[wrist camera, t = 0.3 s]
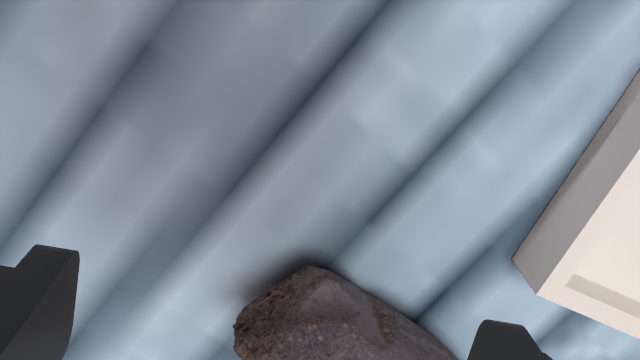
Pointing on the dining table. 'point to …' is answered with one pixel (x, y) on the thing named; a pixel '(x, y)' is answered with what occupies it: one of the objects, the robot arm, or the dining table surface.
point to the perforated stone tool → (328, 324)
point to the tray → (594, 227)
